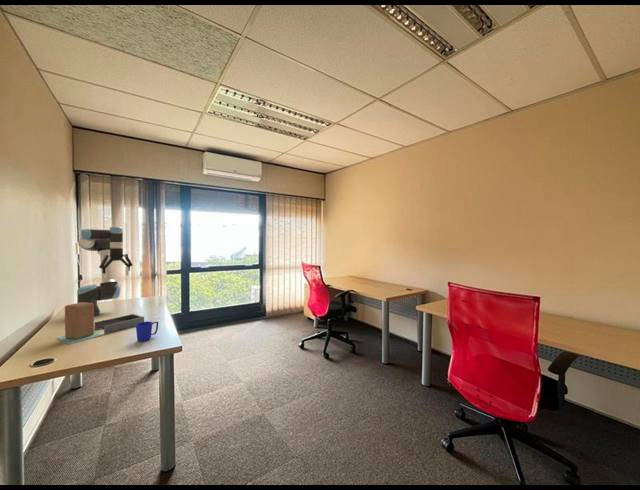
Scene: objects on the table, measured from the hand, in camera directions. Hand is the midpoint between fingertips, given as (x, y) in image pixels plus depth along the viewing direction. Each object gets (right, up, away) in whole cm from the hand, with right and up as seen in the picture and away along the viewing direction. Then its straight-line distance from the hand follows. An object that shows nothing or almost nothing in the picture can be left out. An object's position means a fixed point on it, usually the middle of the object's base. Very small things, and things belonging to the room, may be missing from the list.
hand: (116, 276), depth 192 cm
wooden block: (+2, -33, -31) cm, 45 cm away
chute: (+12, -33, -13) cm, 37 cm away
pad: (+2, -33, -31) cm, 46 cm away
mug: (+45, -34, -33) cm, 65 cm away
